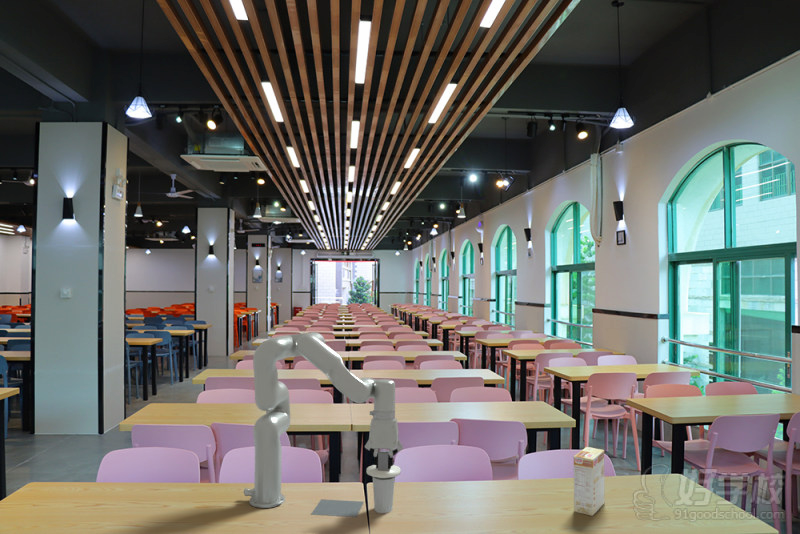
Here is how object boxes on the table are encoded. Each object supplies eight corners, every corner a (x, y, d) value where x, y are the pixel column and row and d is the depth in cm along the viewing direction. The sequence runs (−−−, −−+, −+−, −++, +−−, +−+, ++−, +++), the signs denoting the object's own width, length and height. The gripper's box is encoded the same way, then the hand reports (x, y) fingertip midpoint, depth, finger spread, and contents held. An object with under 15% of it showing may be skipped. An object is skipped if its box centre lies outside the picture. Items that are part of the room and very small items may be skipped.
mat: (310, 515, 196) (310, 514, 196) (321, 500, 210) (321, 499, 210) (356, 518, 194) (356, 517, 194) (364, 503, 208) (364, 501, 208)
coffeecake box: (586, 498, 214) (585, 446, 215) (605, 503, 210) (605, 449, 211) (572, 511, 202) (572, 455, 203) (593, 516, 198) (593, 459, 199)
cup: (392, 516, 196) (392, 480, 197) (369, 514, 198) (370, 479, 198) (396, 507, 204) (397, 473, 204) (375, 505, 206) (375, 471, 206)
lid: (363, 476, 196) (364, 456, 196) (369, 466, 208) (370, 446, 208) (398, 478, 195) (398, 458, 195) (402, 467, 207) (402, 448, 207)
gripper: (359, 416, 199) (358, 469, 199) (406, 418, 197) (405, 472, 197) (363, 411, 207) (362, 463, 206) (408, 413, 205) (408, 465, 204)
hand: (383, 467), depth 202 cm, fingers open, 3 cm apart
